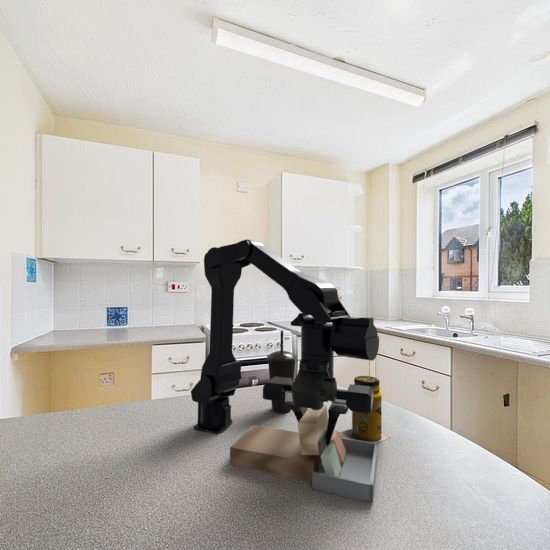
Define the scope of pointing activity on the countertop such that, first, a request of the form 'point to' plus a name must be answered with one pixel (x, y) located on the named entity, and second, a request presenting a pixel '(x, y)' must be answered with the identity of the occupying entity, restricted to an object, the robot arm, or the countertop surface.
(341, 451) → the tile terracotta
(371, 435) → the condiment
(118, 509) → the countertop surface
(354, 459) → the tray
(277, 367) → the drinking cup
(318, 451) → the tall cream block
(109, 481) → the countertop surface
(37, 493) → the countertop surface
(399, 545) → the countertop surface
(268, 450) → the walnut board
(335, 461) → the tile sage
